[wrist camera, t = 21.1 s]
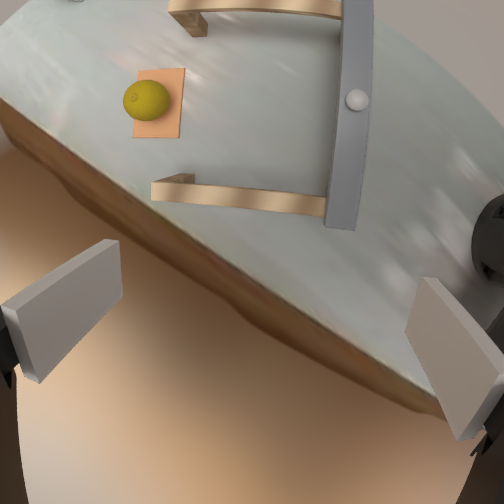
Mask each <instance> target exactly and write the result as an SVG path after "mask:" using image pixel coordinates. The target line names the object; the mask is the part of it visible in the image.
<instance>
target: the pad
mask: <svg viewBox="0 0 504 504" xmlns="http://www.w3.org/2000/svg"><path fill="white" fill-rule="evenodd" d="M184 76H185V68H177V69H160V70H147V71H139V72H138V81H141V80H154V81H157V82H159V83H161V84H162V85H163V86H164V87H165V88H166V89H167V91H168V94H169V105H168V108H167V110H166V112H165V113H164V114H163V115H162V116H161V117H159V118H157V119H155V120H152V121H139V120H136V119H134V128H133V138H179V133H180V120H181V107H182V96H183V86H184Z"/></svg>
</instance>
